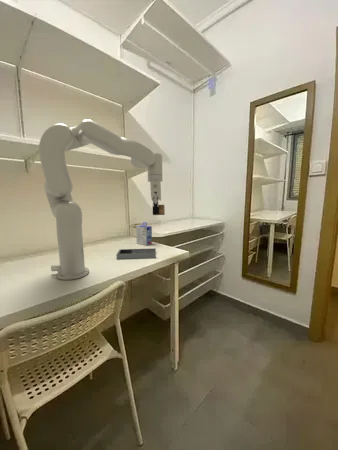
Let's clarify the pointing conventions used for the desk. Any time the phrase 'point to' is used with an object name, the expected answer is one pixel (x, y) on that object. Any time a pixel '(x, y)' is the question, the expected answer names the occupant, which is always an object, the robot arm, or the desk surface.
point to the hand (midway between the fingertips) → (155, 213)
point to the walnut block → (161, 210)
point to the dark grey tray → (136, 253)
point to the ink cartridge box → (144, 234)
